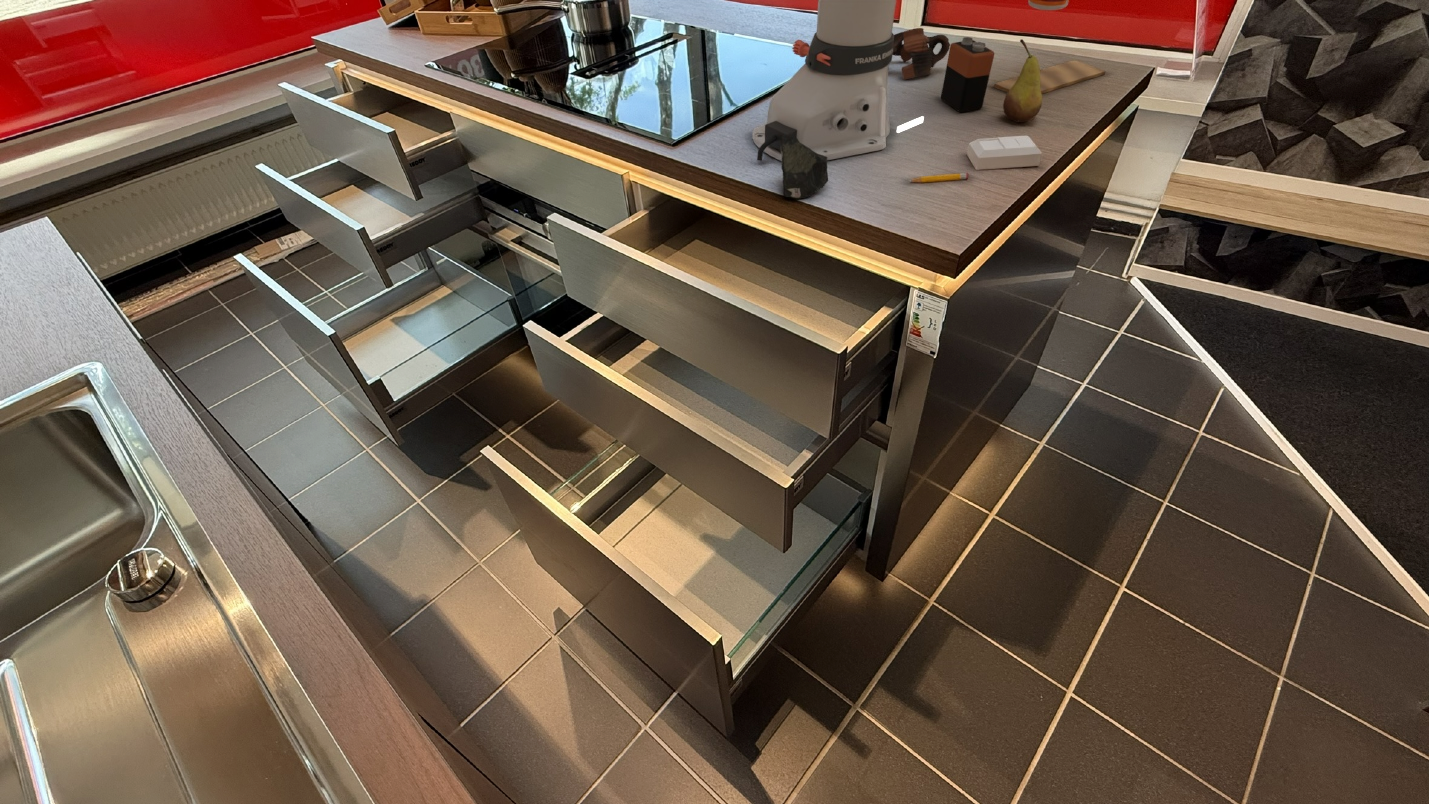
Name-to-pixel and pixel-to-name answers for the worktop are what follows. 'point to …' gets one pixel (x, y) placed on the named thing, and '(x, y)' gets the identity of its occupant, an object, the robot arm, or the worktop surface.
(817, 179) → the rock
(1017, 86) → the fruit
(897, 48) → the pottery mug
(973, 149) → the soap bar
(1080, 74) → the wooden board
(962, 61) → the battery
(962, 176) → the pencil
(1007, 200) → the worktop surface
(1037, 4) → the pill bottle
